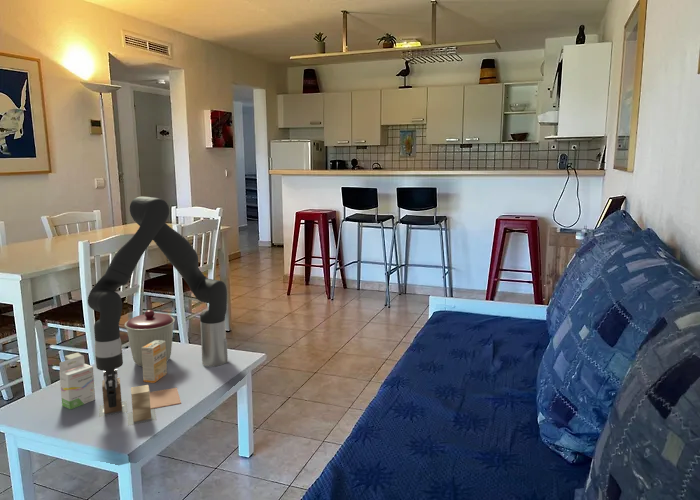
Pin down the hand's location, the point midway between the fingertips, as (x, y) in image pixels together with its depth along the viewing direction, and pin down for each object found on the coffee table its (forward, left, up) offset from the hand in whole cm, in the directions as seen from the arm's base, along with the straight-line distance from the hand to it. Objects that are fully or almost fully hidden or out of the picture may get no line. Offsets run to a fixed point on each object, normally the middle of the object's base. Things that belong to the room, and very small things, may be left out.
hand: (112, 402), depth 159 cm
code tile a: (0, 0, -2) cm, 2 cm away
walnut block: (0, 0, -2) cm, 2 cm away
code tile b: (-8, +9, -2) cm, 12 cm away
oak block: (-8, +9, -2) cm, 12 cm away
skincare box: (+11, -20, -2) cm, 23 cm away
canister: (-14, -35, -2) cm, 38 cm away
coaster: (-14, -1, -2) cm, 14 cm away
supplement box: (-14, -19, -2) cm, 24 cm away
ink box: (+10, -9, -2) cm, 14 cm away
